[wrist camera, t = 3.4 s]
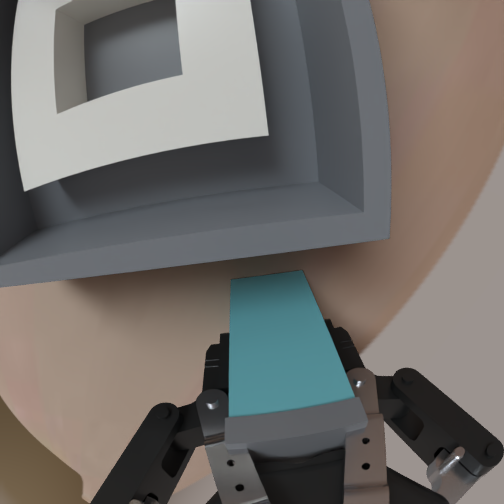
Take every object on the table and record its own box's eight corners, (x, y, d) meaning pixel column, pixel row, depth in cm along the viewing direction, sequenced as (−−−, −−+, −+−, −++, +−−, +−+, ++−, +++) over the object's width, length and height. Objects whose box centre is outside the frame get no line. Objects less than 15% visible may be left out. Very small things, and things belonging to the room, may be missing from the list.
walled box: (289, -79, 7) (309, -135, 2) (335, 197, 14) (389, 238, 9) (17, -1, 7) (-36, -19, 2) (37, 243, 14) (-21, 289, 9)
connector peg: (303, 268, 16) (368, 420, 7) (305, 326, 18) (348, 469, 8) (228, 278, 16) (224, 444, 7) (239, 335, 18) (245, 485, 8)
